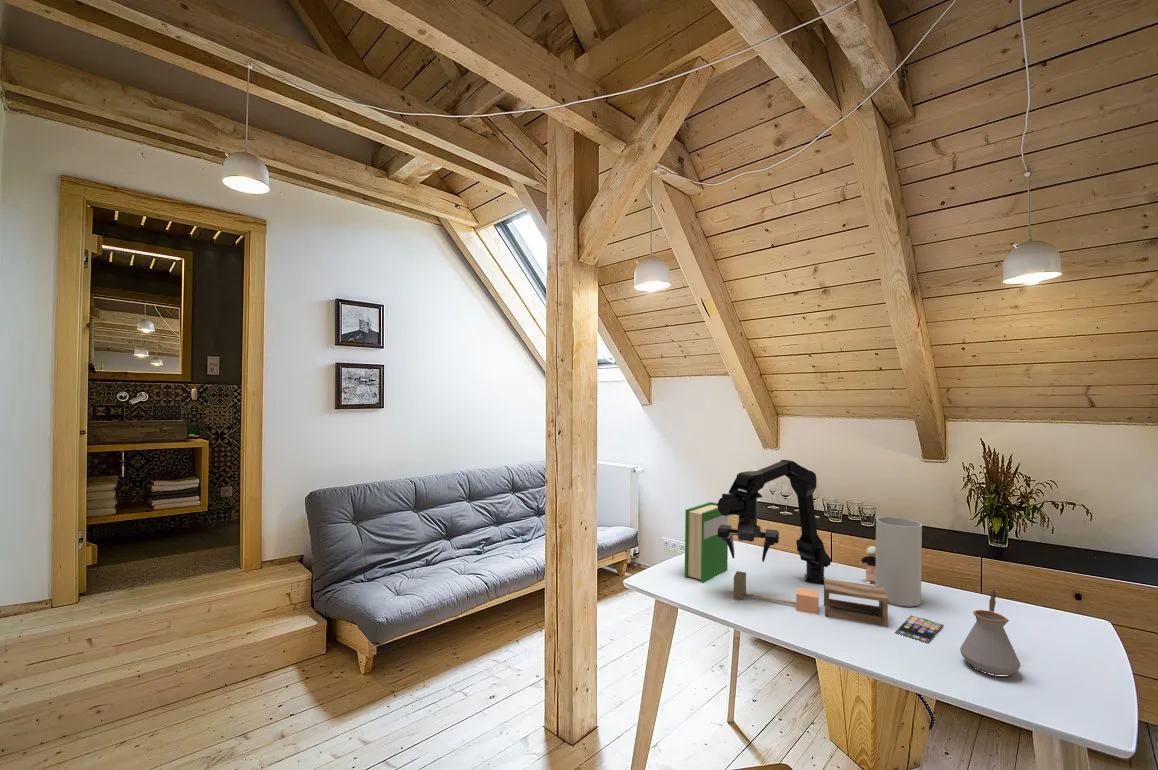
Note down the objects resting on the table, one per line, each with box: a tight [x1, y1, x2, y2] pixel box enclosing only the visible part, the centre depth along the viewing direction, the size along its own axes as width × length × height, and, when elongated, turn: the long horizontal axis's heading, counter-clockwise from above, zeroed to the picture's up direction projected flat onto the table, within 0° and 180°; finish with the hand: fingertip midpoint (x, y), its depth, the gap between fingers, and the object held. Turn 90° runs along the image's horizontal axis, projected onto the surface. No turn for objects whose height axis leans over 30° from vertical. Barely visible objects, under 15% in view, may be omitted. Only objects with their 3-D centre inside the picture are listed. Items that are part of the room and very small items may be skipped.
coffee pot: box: [959, 589, 1021, 676], centre depth 130 cm, size 21×12×15 cm, turn 138°
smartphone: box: [894, 615, 944, 644], centre depth 146 cm, size 8×15×1 cm, turn 133°
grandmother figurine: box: [858, 545, 876, 584], centre depth 181 cm, size 8×4×13 cm, turn 65°
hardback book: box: [684, 501, 729, 584], centre depth 188 cm, size 18×7×24 cm, turn 137°
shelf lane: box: [823, 578, 889, 628], centre depth 155 cm, size 9×16×8 cm, turn 67°
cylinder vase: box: [874, 516, 923, 608], centre depth 167 cm, size 12×12×25 cm
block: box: [733, 570, 819, 615], centre depth 163 cm, size 6×24×7 cm, turn 64°
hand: (748, 559), depth 169 cm, fingers open, 9 cm apart
